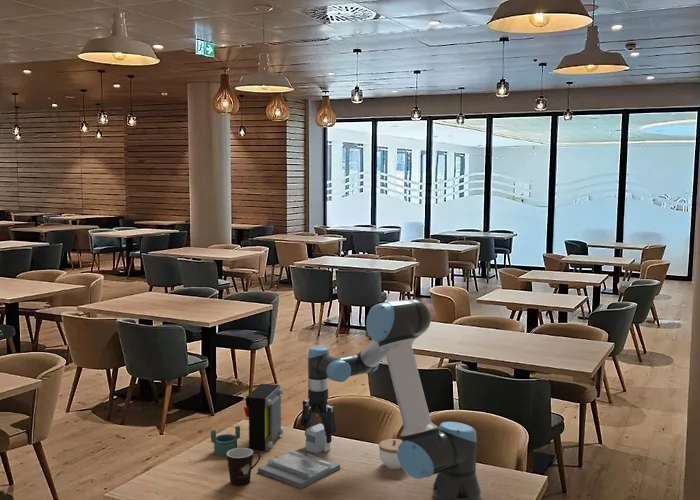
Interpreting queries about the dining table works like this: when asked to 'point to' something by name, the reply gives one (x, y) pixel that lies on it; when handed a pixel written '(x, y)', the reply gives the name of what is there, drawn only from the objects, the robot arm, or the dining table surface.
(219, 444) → the bracket
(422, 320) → the robot arm
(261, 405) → the electrical component
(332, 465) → the mounting board
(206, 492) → the dining table surface
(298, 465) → the din rail
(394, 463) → the lidded jar
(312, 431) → the block
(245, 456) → the coffee mug
